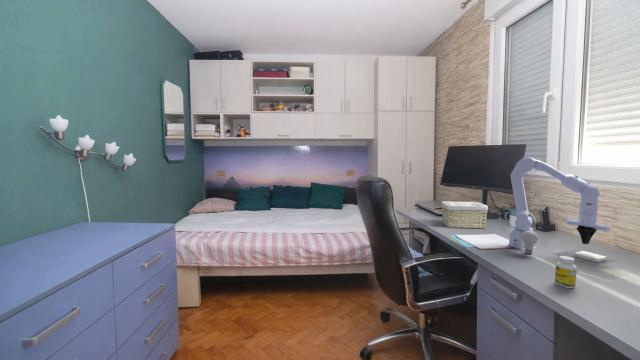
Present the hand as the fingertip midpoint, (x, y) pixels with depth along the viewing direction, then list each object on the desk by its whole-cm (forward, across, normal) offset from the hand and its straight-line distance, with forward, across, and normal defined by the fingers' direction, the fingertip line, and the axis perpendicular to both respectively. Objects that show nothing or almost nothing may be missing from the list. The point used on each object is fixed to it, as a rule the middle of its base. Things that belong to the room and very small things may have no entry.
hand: (585, 243), depth 123 cm
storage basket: (+7, +63, +2) cm, 63 cm away
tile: (+5, +2, 0) cm, 5 cm away
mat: (+6, 0, 0) cm, 6 cm away
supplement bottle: (+7, -13, +38) cm, 41 cm away
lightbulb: (+7, +12, +18) cm, 23 cm away
